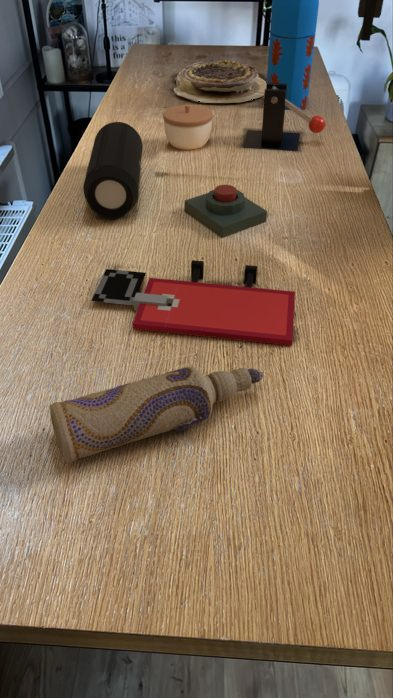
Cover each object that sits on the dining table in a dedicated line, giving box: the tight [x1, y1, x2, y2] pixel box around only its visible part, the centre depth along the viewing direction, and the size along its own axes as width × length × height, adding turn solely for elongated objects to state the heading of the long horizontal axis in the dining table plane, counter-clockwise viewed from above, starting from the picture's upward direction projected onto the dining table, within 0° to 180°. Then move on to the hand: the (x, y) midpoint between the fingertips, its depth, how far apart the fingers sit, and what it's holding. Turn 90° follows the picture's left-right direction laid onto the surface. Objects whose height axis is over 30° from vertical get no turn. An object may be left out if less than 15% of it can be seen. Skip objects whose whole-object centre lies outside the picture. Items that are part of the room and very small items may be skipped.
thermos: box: [266, 0, 320, 111], centre depth 144 cm, size 11×11×25 cm
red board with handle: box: [90, 259, 296, 346], centre depth 88 cm, size 30×3×15 cm
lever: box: [272, 86, 326, 134], centre depth 127 cm, size 14×4×4 cm, turn 79°
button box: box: [183, 189, 268, 239], centre depth 108 cm, size 12×10×4 cm
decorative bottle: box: [49, 365, 264, 463], centre depth 69 cm, size 26×8×7 cm, turn 112°
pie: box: [172, 59, 267, 104], centre depth 162 cm, size 28×27×5 cm
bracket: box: [242, 83, 301, 152], centre depth 129 cm, size 12×10×13 cm
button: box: [213, 184, 238, 203], centre depth 106 cm, size 4×4×2 cm
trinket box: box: [162, 104, 213, 150], centre depth 129 cm, size 11×11×9 cm
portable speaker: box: [82, 121, 144, 220], centre depth 113 cm, size 26×10×10 cm, turn 2°
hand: (365, 38), depth 102 cm, fingers closed
